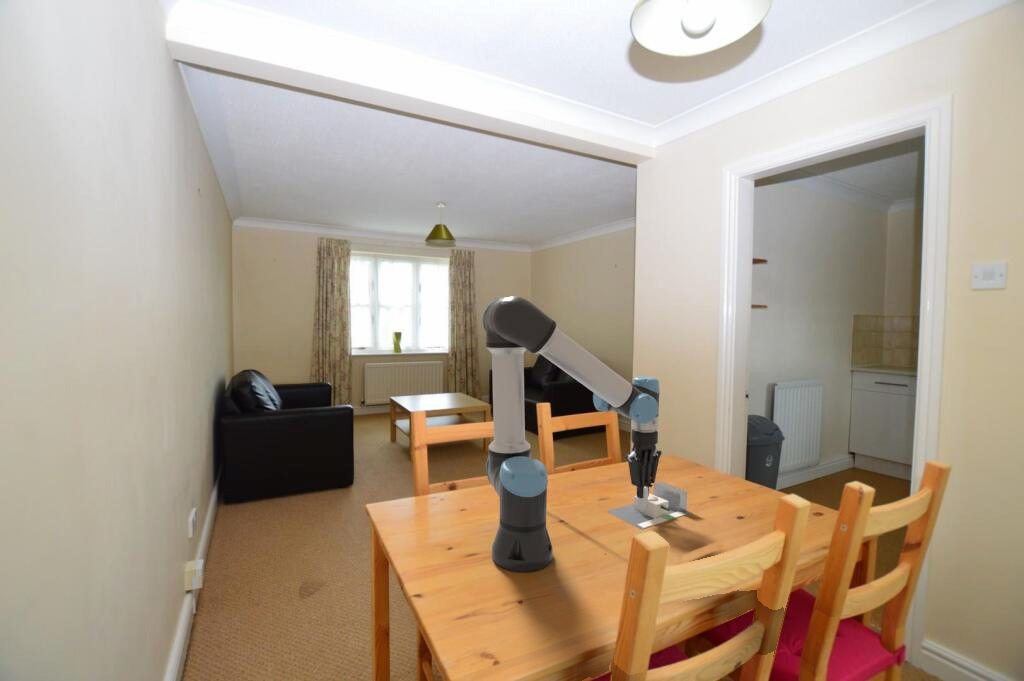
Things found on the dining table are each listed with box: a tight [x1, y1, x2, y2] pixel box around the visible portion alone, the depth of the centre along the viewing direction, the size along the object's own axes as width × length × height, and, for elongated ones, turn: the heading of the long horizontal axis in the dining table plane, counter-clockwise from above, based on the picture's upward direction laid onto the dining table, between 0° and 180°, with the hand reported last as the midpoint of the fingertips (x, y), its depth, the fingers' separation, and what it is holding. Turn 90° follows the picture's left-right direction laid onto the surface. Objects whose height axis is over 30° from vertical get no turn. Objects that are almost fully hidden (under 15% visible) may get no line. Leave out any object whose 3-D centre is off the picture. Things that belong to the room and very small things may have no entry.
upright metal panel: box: [653, 481, 688, 512], centre depth 145 cm, size 3×10×6 cm, turn 32°
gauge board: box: [606, 503, 693, 530], centre depth 141 cm, size 22×14×2 cm, turn 122°
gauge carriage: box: [633, 492, 670, 519], centre depth 140 cm, size 6×11×4 cm, turn 32°
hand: (642, 507), depth 139 cm, fingers closed
